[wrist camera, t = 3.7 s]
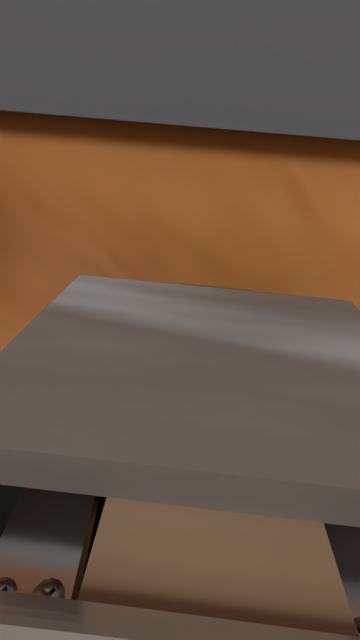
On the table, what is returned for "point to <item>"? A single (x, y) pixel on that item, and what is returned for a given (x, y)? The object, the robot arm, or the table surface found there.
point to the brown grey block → (195, 443)
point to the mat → (187, 63)
